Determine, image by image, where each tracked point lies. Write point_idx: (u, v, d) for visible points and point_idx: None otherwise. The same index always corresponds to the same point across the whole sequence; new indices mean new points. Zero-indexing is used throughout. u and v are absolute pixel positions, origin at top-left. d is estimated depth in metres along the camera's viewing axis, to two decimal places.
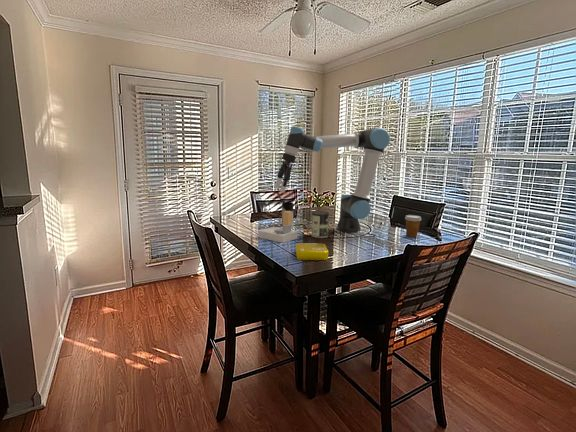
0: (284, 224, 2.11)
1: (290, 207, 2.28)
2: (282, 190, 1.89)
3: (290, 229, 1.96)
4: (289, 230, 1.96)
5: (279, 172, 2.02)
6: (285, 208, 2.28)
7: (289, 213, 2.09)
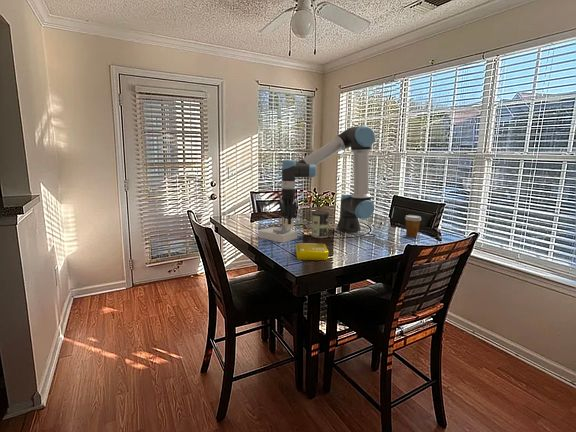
0: (284, 224, 2.11)
1: None
2: (288, 228, 1.93)
3: (289, 229, 1.97)
4: (288, 230, 1.96)
5: (282, 211, 1.93)
6: None
7: None
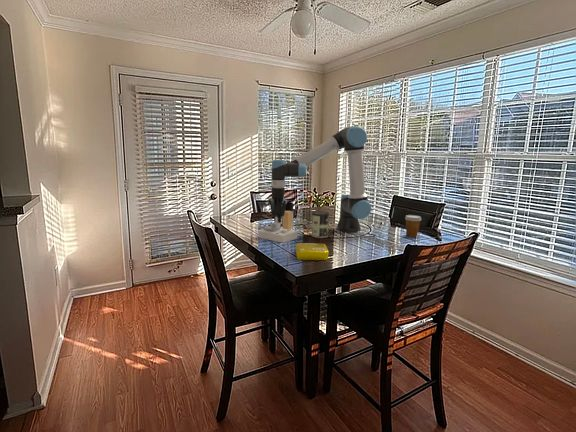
0: (284, 224, 2.11)
1: (290, 207, 2.28)
2: (278, 226, 1.98)
3: None
4: (278, 228, 2.00)
5: (272, 210, 1.98)
6: None
7: (289, 213, 2.09)
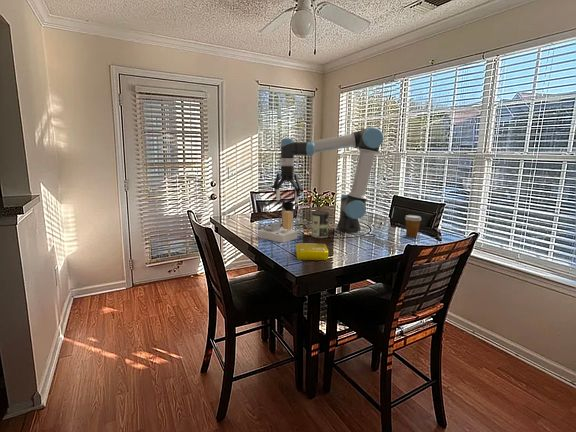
0: (284, 224, 2.11)
1: (290, 207, 2.28)
2: (297, 200, 2.00)
3: (279, 227, 2.01)
4: (278, 228, 2.00)
5: (275, 184, 2.07)
6: (285, 208, 2.28)
7: (289, 213, 2.09)
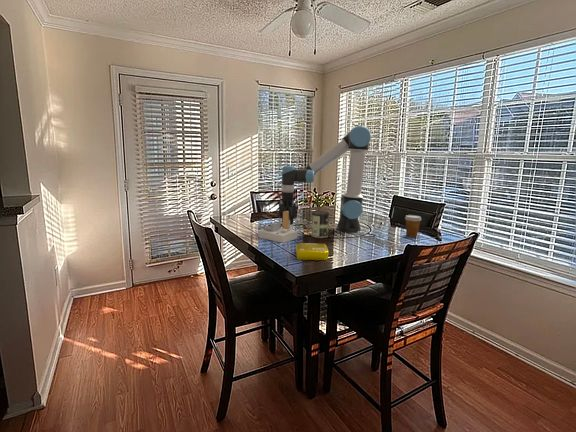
0: (284, 224, 2.11)
1: None
2: (290, 228, 2.10)
3: (279, 227, 2.01)
4: (278, 228, 2.00)
5: (280, 212, 2.12)
6: None
7: None
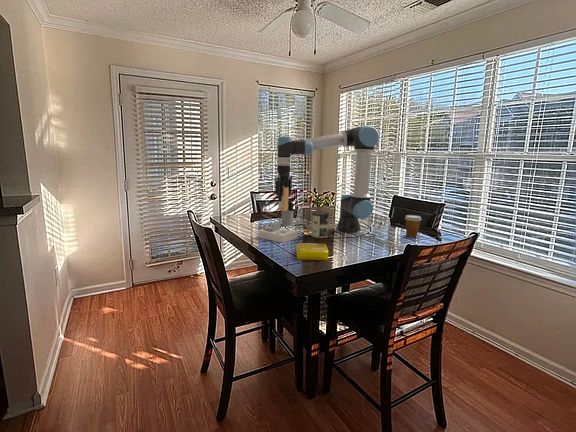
0: (285, 201, 1.91)
1: (290, 207, 2.28)
2: None
3: (279, 227, 2.01)
4: (278, 228, 2.00)
5: (279, 189, 1.88)
6: None
7: None
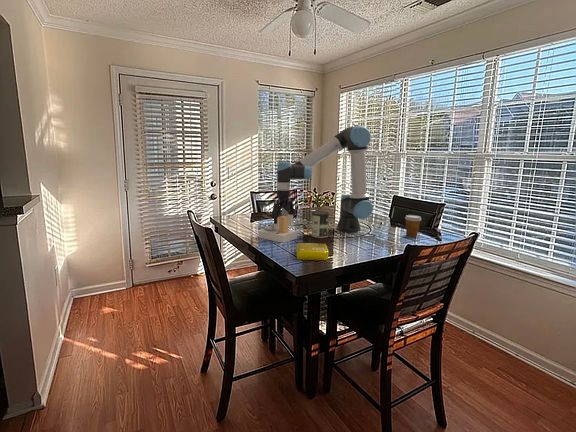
0: (284, 230, 1.95)
1: None
2: None
3: None
4: None
5: None
6: (285, 208, 2.28)
7: None
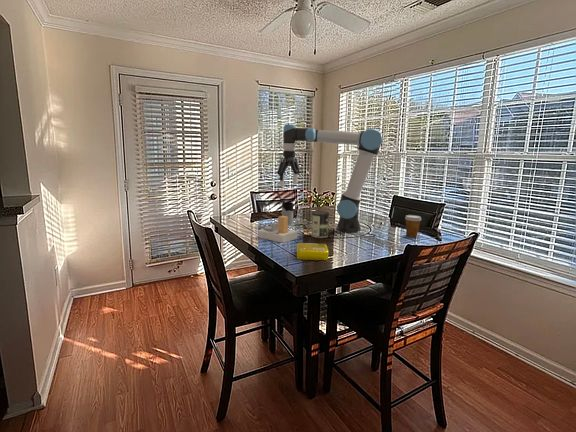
0: (285, 230, 1.95)
1: (290, 207, 2.28)
2: None
3: None
4: None
5: None
6: (285, 208, 2.28)
7: None
